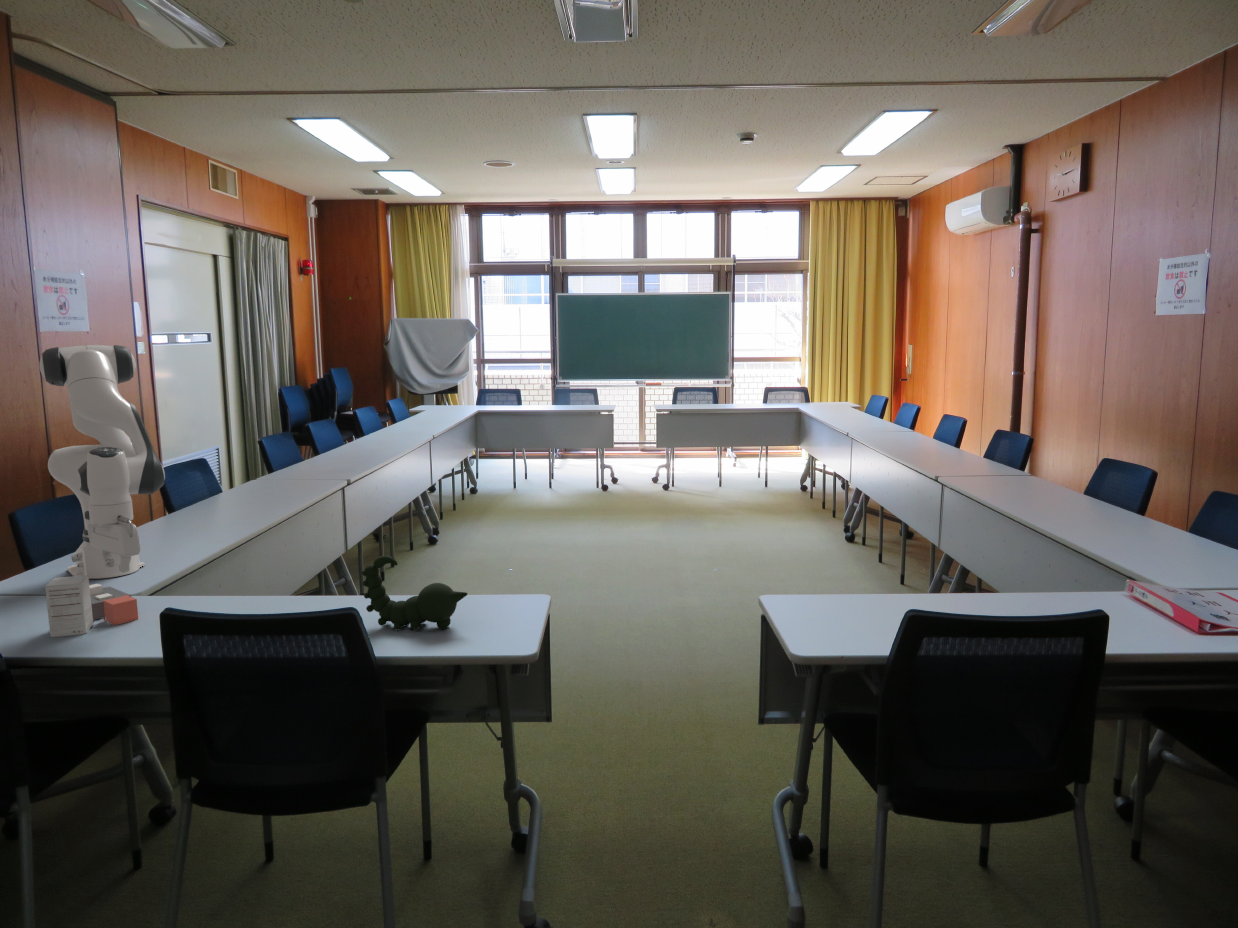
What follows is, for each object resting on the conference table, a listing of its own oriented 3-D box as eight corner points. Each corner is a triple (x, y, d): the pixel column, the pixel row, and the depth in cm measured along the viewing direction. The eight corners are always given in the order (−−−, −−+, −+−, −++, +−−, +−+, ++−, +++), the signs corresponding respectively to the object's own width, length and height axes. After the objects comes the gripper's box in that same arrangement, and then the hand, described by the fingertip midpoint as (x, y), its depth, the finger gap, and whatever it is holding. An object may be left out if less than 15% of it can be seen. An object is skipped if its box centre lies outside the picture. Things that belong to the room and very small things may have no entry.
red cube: (105, 620, 198) (103, 600, 198) (128, 614, 203) (126, 595, 202) (114, 625, 195) (112, 604, 194) (138, 619, 199) (136, 599, 199)
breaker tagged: (96, 611, 204) (94, 595, 203) (109, 607, 206) (107, 593, 206) (101, 613, 202) (99, 598, 202) (114, 610, 205) (112, 595, 204)
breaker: (85, 601, 207) (84, 586, 207) (98, 598, 210) (97, 583, 209) (90, 603, 206) (89, 588, 205) (103, 600, 208) (102, 585, 207)
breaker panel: (68, 610, 206) (66, 594, 205) (110, 600, 214) (109, 585, 213) (89, 620, 198) (87, 603, 198) (132, 610, 206) (131, 593, 206)
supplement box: (58, 627, 193) (53, 577, 192) (94, 624, 196) (89, 574, 194) (49, 637, 187) (43, 585, 185) (86, 633, 189) (81, 582, 187)
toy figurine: (364, 639, 190) (465, 633, 188) (353, 562, 188) (456, 555, 185) (379, 625, 200) (476, 620, 197) (369, 552, 197) (467, 545, 194)
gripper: (145, 516, 191) (149, 572, 193) (108, 507, 203) (113, 560, 205) (116, 521, 186) (121, 578, 188) (80, 511, 198) (85, 565, 200)
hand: (116, 569), depth 197 cm, fingers open, 7 cm apart
